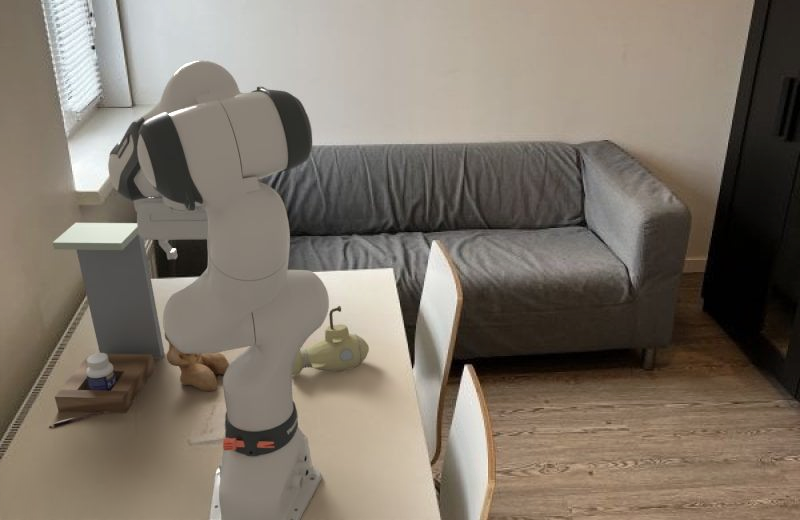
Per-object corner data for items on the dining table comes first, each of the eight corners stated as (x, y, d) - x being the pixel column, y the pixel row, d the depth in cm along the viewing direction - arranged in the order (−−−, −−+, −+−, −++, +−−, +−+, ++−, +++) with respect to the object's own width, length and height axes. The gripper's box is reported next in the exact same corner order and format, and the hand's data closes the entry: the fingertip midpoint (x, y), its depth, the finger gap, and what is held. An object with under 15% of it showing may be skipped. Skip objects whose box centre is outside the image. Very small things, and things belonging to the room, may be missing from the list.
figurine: (216, 396, 159) (183, 336, 153) (179, 403, 162) (145, 344, 156) (236, 365, 168) (206, 308, 162) (200, 372, 171) (169, 316, 165)
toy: (373, 373, 165) (371, 311, 159) (293, 388, 161) (287, 325, 155) (364, 352, 173) (361, 293, 166) (287, 366, 168) (280, 305, 162)
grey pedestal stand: (148, 378, 165) (121, 243, 152) (84, 377, 166) (52, 242, 153) (164, 353, 174) (140, 223, 161) (104, 352, 175) (75, 222, 162)
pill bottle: (115, 400, 158) (107, 364, 155) (89, 402, 158) (80, 366, 154) (121, 385, 163) (113, 349, 159) (95, 387, 163) (87, 351, 159)
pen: (49, 429, 151) (48, 425, 150) (49, 427, 151) (48, 423, 151) (110, 412, 155) (109, 408, 155) (109, 410, 156) (108, 406, 155)
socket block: (125, 413, 154) (122, 398, 153) (58, 411, 156) (54, 396, 154) (154, 368, 169) (152, 354, 167) (92, 366, 170) (89, 353, 168)
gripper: (125, 197, 144) (138, 265, 149) (234, 196, 142) (243, 264, 148) (138, 186, 149) (150, 252, 155) (242, 185, 148) (250, 251, 154)
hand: (196, 258), depth 152 cm, fingers open, 8 cm apart
